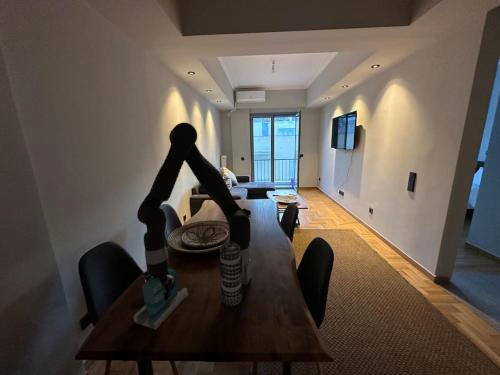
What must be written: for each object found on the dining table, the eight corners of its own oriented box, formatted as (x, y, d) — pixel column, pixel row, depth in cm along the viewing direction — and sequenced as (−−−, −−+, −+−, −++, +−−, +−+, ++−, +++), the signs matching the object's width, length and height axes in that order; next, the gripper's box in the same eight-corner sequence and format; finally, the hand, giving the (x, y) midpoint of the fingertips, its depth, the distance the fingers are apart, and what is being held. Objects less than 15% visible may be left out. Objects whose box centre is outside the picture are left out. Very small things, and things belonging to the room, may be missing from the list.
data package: (154, 316, 74) (150, 287, 72) (146, 312, 76) (141, 284, 74) (178, 294, 85) (175, 268, 82) (170, 291, 87) (167, 266, 84)
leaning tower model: (246, 306, 82) (244, 248, 76) (223, 311, 79) (219, 252, 74) (240, 290, 90) (238, 237, 85) (219, 295, 88) (216, 241, 82)
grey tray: (188, 295, 88) (187, 287, 87) (155, 331, 71) (154, 322, 70) (169, 290, 91) (168, 282, 90) (134, 323, 75) (132, 314, 74)
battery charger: (238, 218, 176) (238, 214, 175) (232, 215, 184) (232, 211, 183) (250, 215, 183) (250, 210, 183) (244, 212, 191) (244, 208, 190)
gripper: (179, 255, 77) (183, 294, 81) (150, 249, 82) (155, 286, 86) (165, 267, 70) (170, 309, 74) (133, 259, 75) (140, 299, 79)
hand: (162, 296), depth 80 cm, fingers closed on data package, 4 cm apart
